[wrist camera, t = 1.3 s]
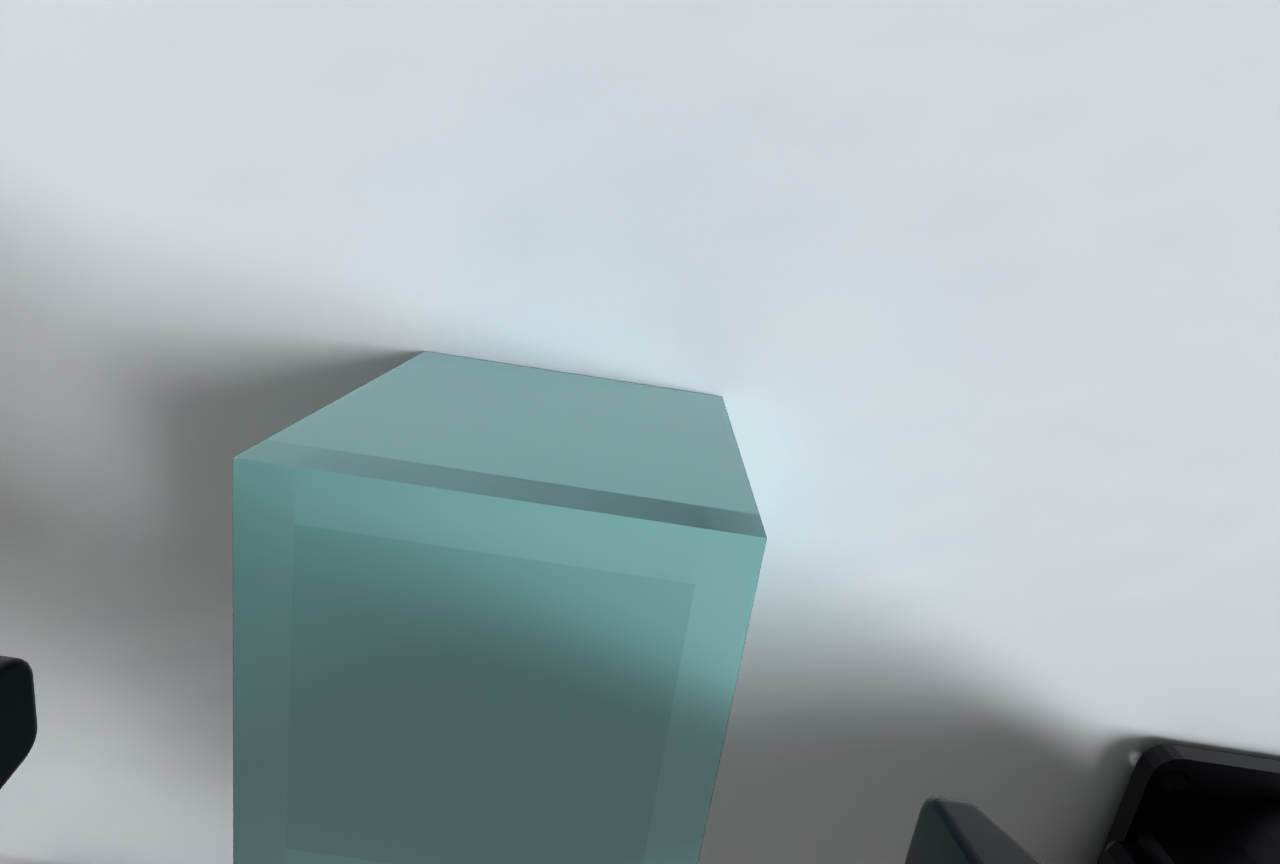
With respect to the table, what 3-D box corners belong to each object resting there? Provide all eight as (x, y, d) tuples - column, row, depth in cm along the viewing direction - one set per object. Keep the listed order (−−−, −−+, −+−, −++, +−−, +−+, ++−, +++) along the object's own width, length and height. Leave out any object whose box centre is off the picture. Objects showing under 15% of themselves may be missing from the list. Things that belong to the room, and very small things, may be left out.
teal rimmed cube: (721, 396, 13) (766, 538, 7) (674, 657, 14) (679, 947, 9) (424, 350, 13) (233, 456, 7) (406, 616, 14) (233, 882, 9)
